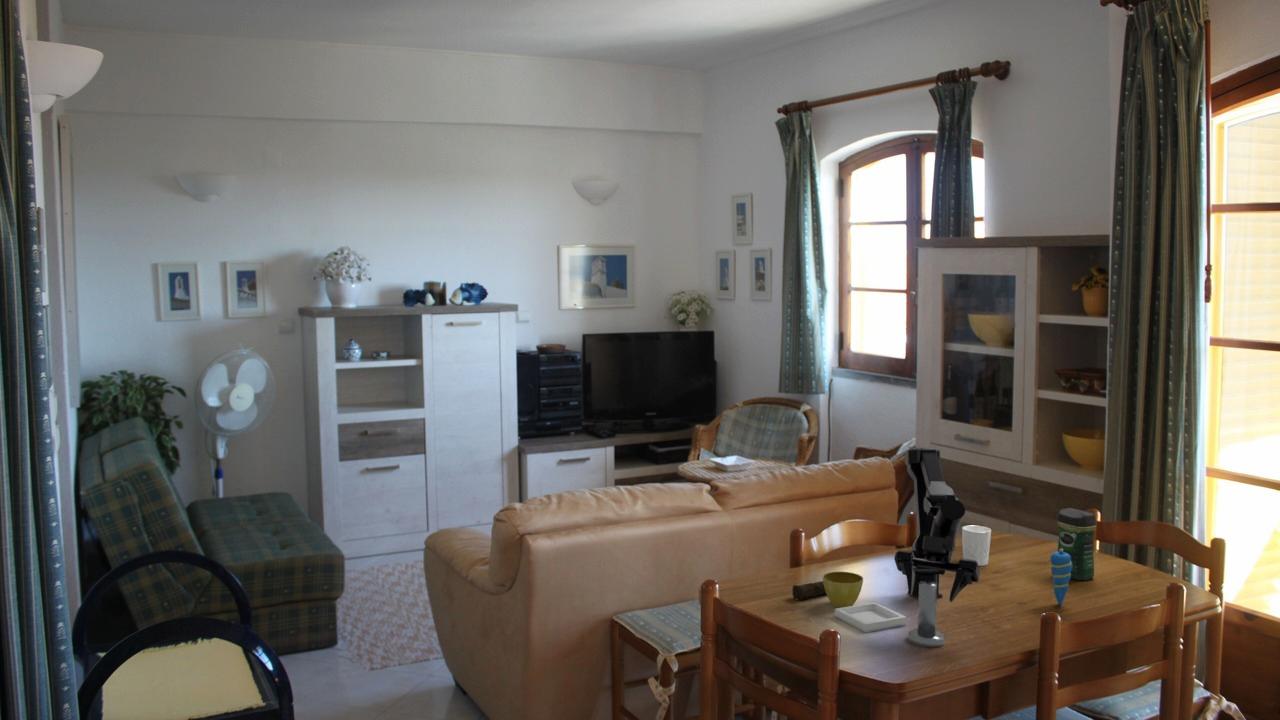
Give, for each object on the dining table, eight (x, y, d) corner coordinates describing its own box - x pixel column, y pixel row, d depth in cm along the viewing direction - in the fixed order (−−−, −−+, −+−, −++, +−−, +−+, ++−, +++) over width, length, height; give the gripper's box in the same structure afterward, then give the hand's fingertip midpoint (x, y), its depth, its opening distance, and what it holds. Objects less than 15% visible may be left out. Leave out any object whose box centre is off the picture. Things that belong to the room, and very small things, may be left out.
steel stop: (928, 632, 241) (929, 576, 240) (952, 644, 234) (954, 586, 233) (900, 637, 238) (902, 580, 237) (924, 649, 231) (926, 590, 230)
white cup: (959, 558, 302) (960, 524, 301) (987, 559, 301) (988, 525, 300) (963, 566, 294) (964, 531, 293) (992, 567, 293) (993, 532, 292)
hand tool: (800, 602, 263) (800, 585, 262) (791, 598, 266) (791, 580, 266) (859, 592, 271) (860, 575, 271) (850, 588, 275) (850, 571, 274)
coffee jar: (1099, 578, 283) (1102, 512, 281) (1079, 582, 279) (1082, 515, 278) (1069, 569, 292) (1072, 504, 290) (1050, 573, 288) (1053, 507, 286)
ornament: (1060, 609, 258) (1063, 550, 256) (1043, 603, 262) (1046, 545, 261) (1074, 606, 260) (1077, 548, 259) (1058, 600, 265) (1060, 543, 263)
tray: (874, 609, 257) (874, 602, 257) (906, 625, 246) (906, 617, 246) (834, 616, 252) (834, 608, 252) (865, 632, 241) (865, 624, 241)
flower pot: (819, 598, 266) (819, 570, 265) (858, 598, 266) (859, 571, 265) (825, 611, 256) (825, 583, 255) (866, 611, 256) (866, 583, 255)
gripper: (897, 516, 244) (883, 574, 236) (979, 526, 236) (967, 586, 227) (905, 541, 252) (891, 598, 243) (984, 551, 243) (973, 611, 234)
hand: (930, 598), depth 237 cm, fingers open, 9 cm apart
